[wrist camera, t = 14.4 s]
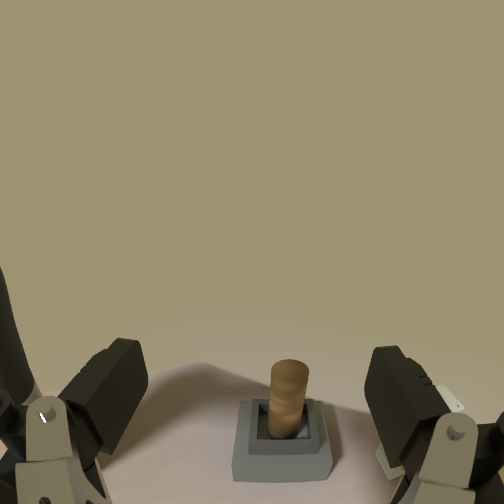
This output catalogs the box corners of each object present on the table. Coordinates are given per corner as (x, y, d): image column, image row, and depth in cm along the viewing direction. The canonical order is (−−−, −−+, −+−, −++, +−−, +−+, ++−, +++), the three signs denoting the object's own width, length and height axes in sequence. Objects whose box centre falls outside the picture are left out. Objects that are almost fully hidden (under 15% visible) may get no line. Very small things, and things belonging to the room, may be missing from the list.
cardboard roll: (266, 442, 32) (271, 381, 29) (267, 420, 36) (271, 359, 33) (298, 442, 31) (310, 381, 28) (297, 421, 36) (307, 359, 33)
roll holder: (233, 480, 29) (230, 455, 27) (241, 420, 42) (240, 390, 40) (326, 479, 28) (337, 453, 26) (317, 420, 41) (323, 389, 39)
